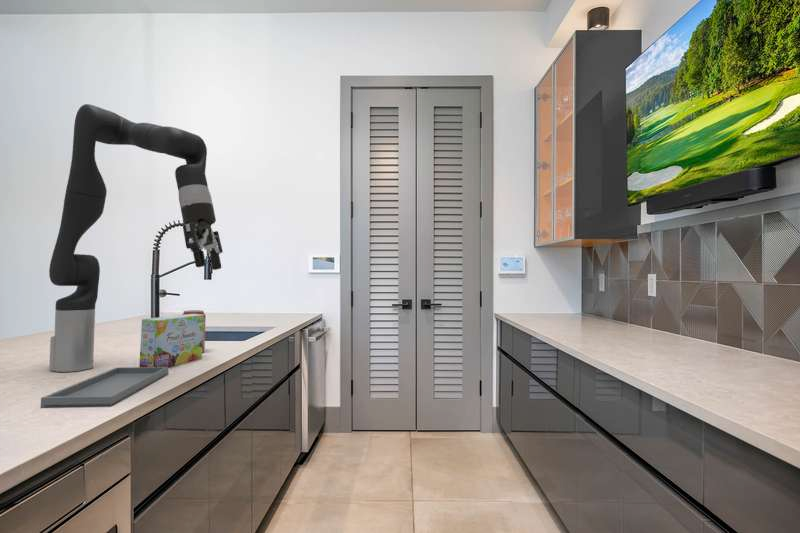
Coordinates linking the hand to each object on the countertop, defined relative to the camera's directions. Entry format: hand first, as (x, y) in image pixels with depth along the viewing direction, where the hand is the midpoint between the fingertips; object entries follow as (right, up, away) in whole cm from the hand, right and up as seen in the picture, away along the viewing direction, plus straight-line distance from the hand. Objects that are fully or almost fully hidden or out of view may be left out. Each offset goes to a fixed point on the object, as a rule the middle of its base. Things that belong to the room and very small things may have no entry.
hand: (209, 267), depth 107 cm
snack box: (-23, -30, +26) cm, 46 cm away
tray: (-22, -29, -3) cm, 37 cm away
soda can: (-26, -31, +45) cm, 61 cm away
